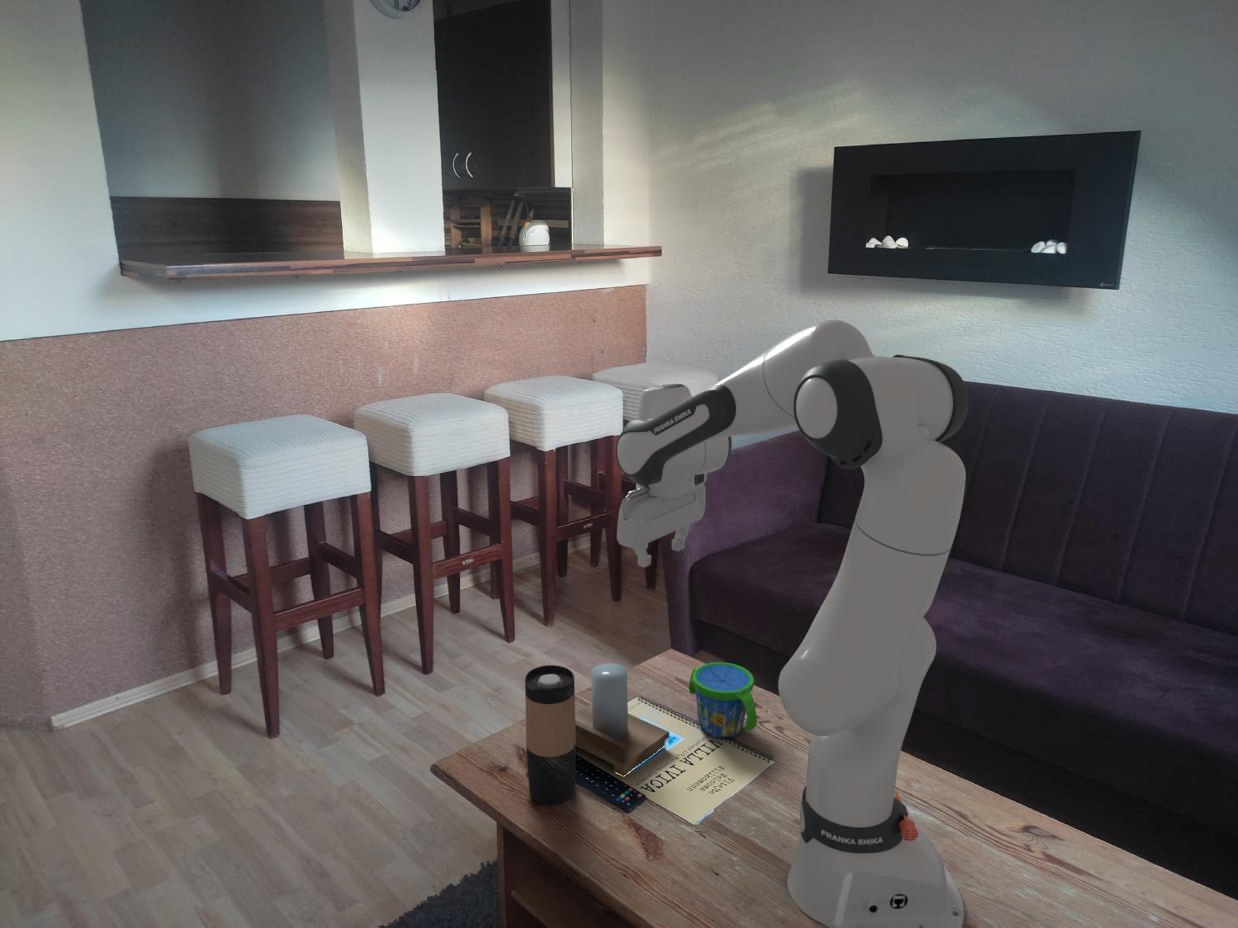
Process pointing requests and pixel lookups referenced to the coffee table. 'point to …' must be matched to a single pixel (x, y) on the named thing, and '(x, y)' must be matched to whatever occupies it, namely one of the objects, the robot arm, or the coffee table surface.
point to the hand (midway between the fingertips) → (661, 557)
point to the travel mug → (550, 733)
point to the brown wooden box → (619, 741)
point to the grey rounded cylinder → (610, 699)
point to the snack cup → (723, 698)
